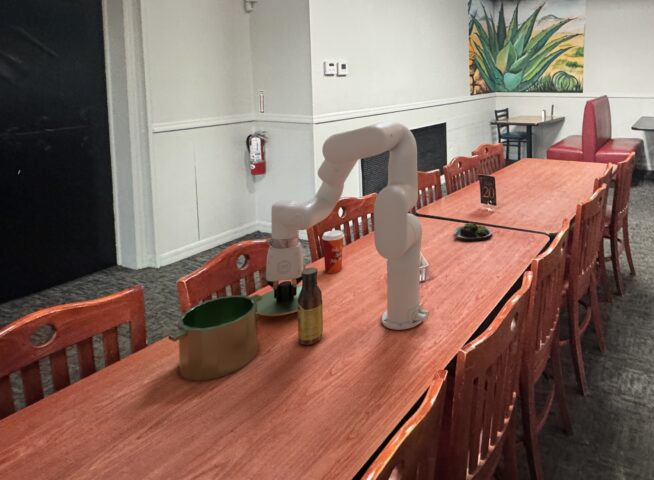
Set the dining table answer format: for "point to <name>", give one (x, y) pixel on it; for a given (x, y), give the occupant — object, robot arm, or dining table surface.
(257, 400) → the dining table surface
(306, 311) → the sauce bottle
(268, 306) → the tin lid
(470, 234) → the salad plate
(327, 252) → the paper cup
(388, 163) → the robot arm
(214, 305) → the cooking pot
